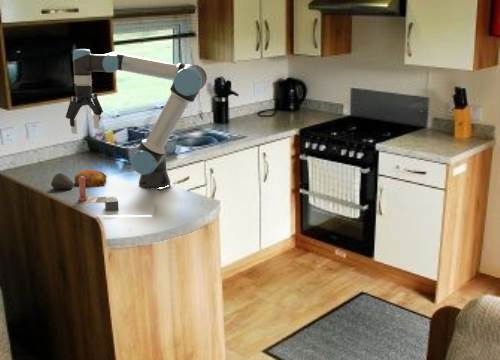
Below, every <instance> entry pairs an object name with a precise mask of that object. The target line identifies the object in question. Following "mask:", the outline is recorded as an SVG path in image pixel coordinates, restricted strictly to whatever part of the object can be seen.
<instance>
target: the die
mask: <svg viewBox="0 0 500 360" xmlns="http://www.w3.org/2000/svg"><path fill="white" fill-rule="evenodd" d="M104 208H105V211H106V212H115V211H119V200H118V198H117V197H116V198H109V199H105V203H104Z"/></svg>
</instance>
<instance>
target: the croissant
mask: <svg viewBox="0 0 500 360" xmlns="http://www.w3.org/2000/svg"><path fill="white" fill-rule="evenodd" d="M80 176H83V177H85V179H86V181H85V187H87V188H97V187H98V188H99V187H101V186H104V185H105V184H106V182H107V177H108V176H107V175H106V174H105V173H104V172H102V171H99V170H94V169H85V170H81V171H80V172H78V173H77V174H76V175H75V177H74V183H75V184H76V185H79V181H78V178H79V177H80Z"/></svg>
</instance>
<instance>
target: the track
mask: <svg viewBox="0 0 500 360" xmlns="http://www.w3.org/2000/svg"><path fill="white" fill-rule="evenodd" d="M109 198H117V197H116V196H87V200H85V201H79V198H78V199H77V201H76V203H79V204H81V203H83V204H85V203H86V204H88V203H89V204H91V203H99V204H100V203H104V204H105V199H109Z"/></svg>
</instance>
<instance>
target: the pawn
mask: <svg viewBox="0 0 500 360" xmlns="http://www.w3.org/2000/svg"><path fill="white" fill-rule="evenodd" d="M78 181H79V184H78V188H79V189H78V190H79V191H78V192H79V196H78V199H79V201H85V200H87V197H88V196H86V192H87V191H86V186H85V181H86V179H85V177H83V176H80V177H79V178H78Z"/></svg>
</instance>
